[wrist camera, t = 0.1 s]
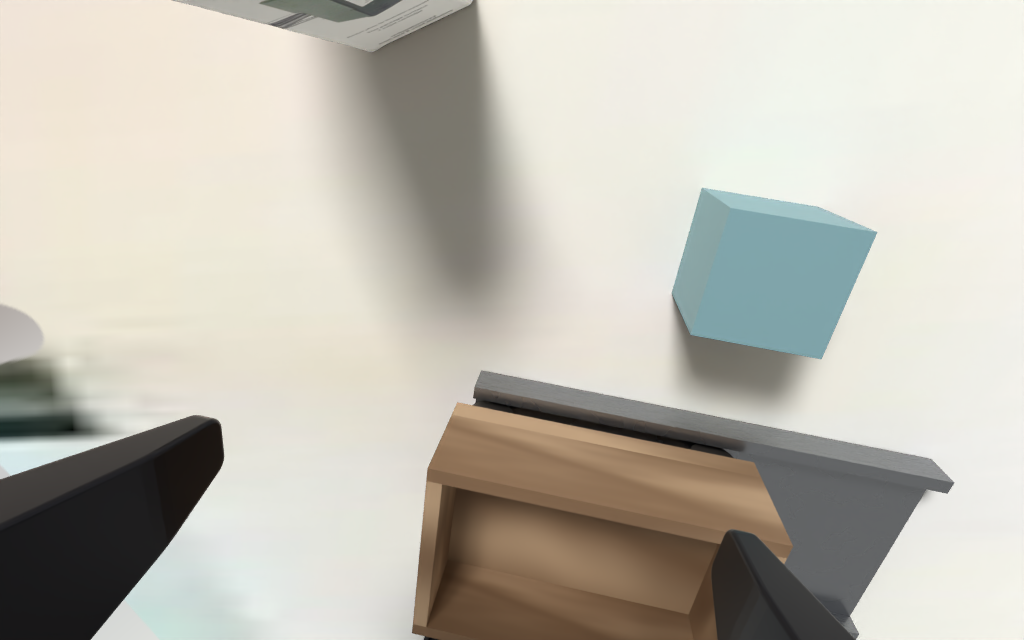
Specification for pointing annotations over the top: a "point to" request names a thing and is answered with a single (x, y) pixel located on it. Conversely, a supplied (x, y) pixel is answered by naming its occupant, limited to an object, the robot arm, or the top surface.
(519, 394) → the track
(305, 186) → the top surface
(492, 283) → the top surface
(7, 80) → the top surface
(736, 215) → the part block
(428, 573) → the wooden drawer
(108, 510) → the robot arm
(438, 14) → the ink box
